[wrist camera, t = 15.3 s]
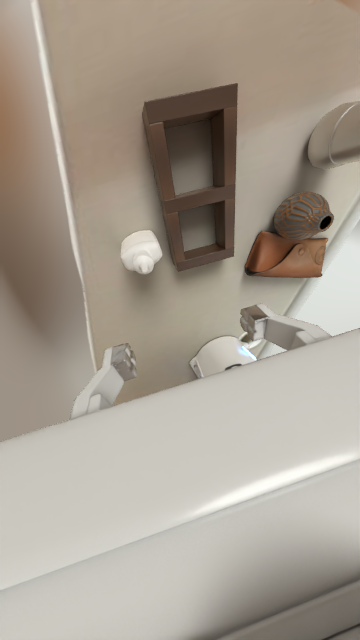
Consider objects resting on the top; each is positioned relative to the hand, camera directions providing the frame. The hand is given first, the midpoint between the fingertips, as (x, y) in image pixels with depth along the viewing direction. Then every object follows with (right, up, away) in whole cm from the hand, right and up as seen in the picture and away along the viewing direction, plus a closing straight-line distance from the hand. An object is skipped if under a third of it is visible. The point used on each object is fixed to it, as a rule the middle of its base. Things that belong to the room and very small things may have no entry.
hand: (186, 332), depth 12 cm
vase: (+19, +20, +20) cm, 34 cm away
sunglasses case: (+22, +15, +25) cm, 37 cm away
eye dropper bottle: (-7, +14, +17) cm, 23 cm away
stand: (+1, +20, +15) cm, 25 cm away
